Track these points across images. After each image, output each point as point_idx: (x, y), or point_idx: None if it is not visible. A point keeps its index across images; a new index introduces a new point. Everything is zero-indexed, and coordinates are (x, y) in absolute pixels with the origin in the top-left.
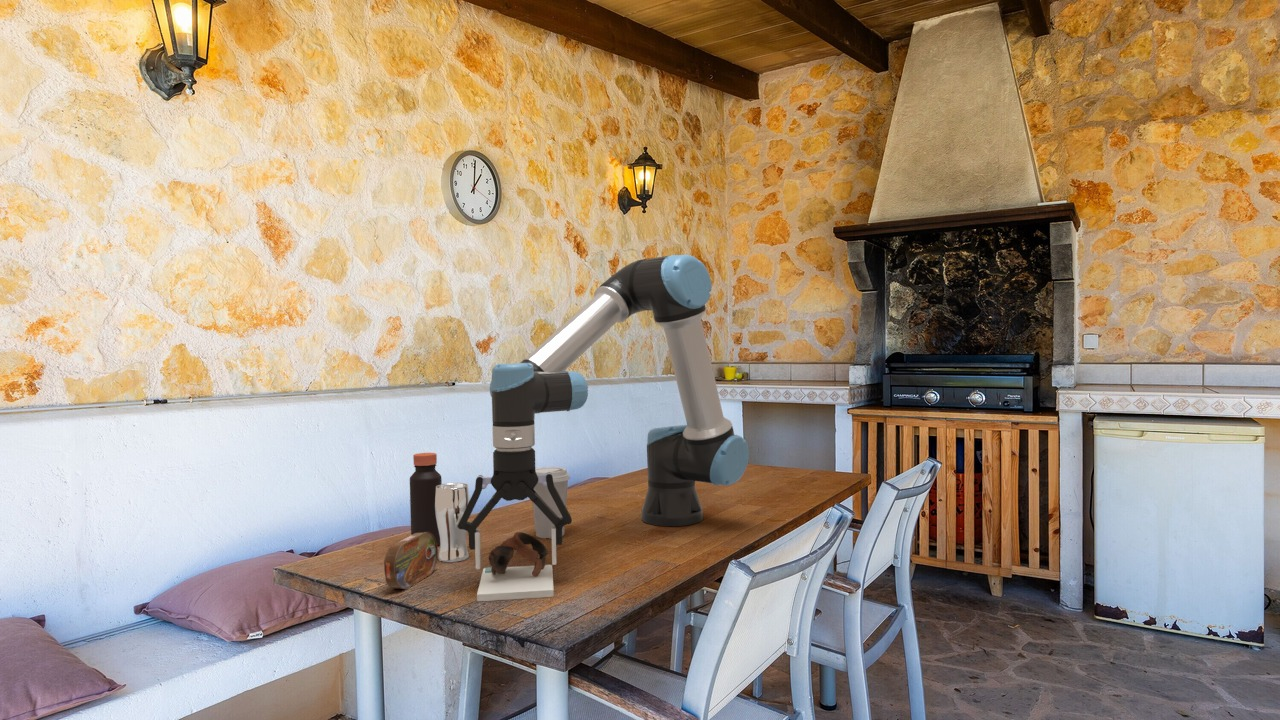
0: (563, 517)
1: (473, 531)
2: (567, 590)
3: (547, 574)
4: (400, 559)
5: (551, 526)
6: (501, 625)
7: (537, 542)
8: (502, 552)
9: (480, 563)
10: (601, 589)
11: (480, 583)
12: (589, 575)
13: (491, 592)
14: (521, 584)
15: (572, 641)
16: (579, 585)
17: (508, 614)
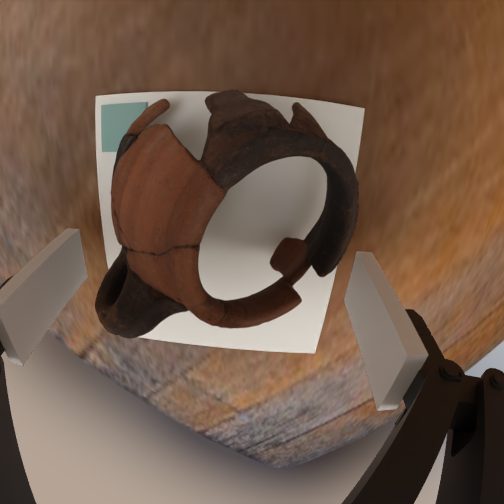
0: (447, 446)
1: (2, 361)
2: None
3: None
4: None
5: (399, 372)
6: (197, 421)
7: (323, 164)
8: (144, 334)
9: (77, 257)
10: (430, 315)
11: (108, 258)
12: (451, 201)
13: (152, 331)
14: (231, 297)
15: (296, 462)
16: (399, 278)
17: (205, 394)
